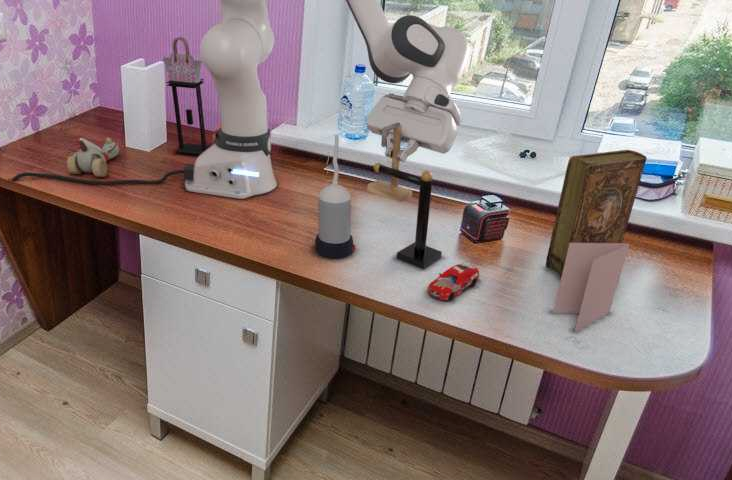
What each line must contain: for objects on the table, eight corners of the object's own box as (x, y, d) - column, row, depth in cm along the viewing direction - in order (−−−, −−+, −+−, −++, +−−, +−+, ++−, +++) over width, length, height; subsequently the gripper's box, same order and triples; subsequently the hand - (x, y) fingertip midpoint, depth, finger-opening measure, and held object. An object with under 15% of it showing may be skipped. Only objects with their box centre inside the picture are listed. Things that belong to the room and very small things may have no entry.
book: (602, 257, 146) (631, 149, 132) (618, 268, 142) (651, 158, 128) (544, 268, 139) (568, 156, 125) (560, 281, 135) (587, 166, 121)
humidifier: (360, 254, 138) (364, 139, 124) (324, 261, 134) (325, 144, 120) (343, 238, 143) (345, 127, 130) (309, 245, 140) (307, 130, 126)
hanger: (379, 185, 141) (382, 116, 133) (413, 196, 137) (418, 126, 129) (362, 192, 137) (365, 122, 129) (396, 204, 133) (401, 133, 125)
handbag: (215, 148, 185) (205, 36, 168) (206, 157, 179) (194, 41, 162) (180, 144, 186) (166, 32, 169) (169, 153, 179) (153, 37, 163)
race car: (444, 306, 123) (446, 288, 121) (422, 295, 126) (423, 277, 124) (483, 282, 132) (485, 265, 130) (461, 272, 135) (464, 255, 132)
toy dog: (123, 154, 176) (117, 121, 171) (122, 179, 162) (116, 144, 157) (74, 155, 172) (66, 122, 167) (68, 181, 158) (60, 145, 153)
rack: (380, 234, 147) (385, 151, 136) (441, 257, 139) (451, 171, 129) (361, 244, 142) (364, 159, 131) (423, 269, 134) (432, 180, 124)
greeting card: (607, 310, 126) (627, 241, 118) (622, 331, 120) (644, 260, 112) (551, 310, 125) (568, 240, 116) (563, 331, 119) (581, 260, 110)
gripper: (378, 83, 137) (348, 138, 136) (460, 103, 128) (429, 162, 127) (390, 100, 143) (361, 153, 141) (469, 121, 134) (439, 178, 132)
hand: (394, 158), depth 134 cm, fingers closed on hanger
